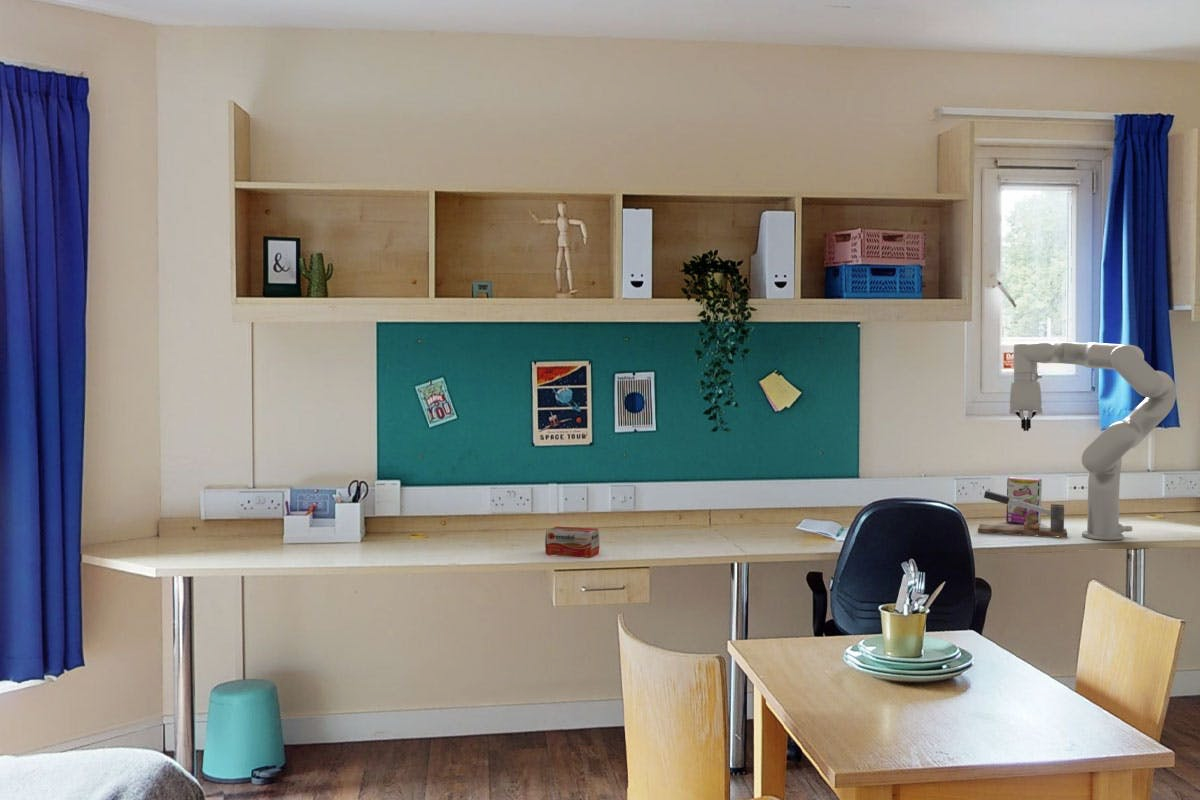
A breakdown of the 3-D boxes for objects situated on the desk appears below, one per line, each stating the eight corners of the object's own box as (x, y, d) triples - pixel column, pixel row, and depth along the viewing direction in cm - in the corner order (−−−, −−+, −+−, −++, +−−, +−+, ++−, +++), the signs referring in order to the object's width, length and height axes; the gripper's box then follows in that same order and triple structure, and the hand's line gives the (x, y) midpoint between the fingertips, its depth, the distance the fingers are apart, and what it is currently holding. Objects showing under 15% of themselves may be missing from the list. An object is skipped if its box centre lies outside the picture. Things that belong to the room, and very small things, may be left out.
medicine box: (545, 555, 333) (544, 530, 333) (554, 551, 341) (554, 525, 340) (591, 558, 328) (591, 532, 328) (600, 554, 336) (600, 528, 335)
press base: (1066, 533, 369) (1066, 504, 369) (1067, 537, 360) (1067, 508, 360) (979, 528, 380) (979, 500, 379) (978, 532, 370) (978, 503, 370)
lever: (1059, 517, 367) (1061, 511, 367) (1059, 519, 364) (1061, 513, 363) (984, 496, 376) (985, 490, 375) (983, 497, 372) (985, 491, 372)
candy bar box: (1005, 523, 391) (1006, 478, 390) (1008, 521, 395) (1009, 476, 394) (1038, 525, 385) (1039, 479, 384) (1041, 523, 389) (1042, 478, 388)
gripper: (1048, 377, 376) (1048, 430, 376) (1002, 378, 381) (1002, 430, 381) (1049, 377, 369) (1049, 431, 369) (1002, 378, 373) (1003, 431, 374)
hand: (1026, 430), depth 375 cm, fingers closed
